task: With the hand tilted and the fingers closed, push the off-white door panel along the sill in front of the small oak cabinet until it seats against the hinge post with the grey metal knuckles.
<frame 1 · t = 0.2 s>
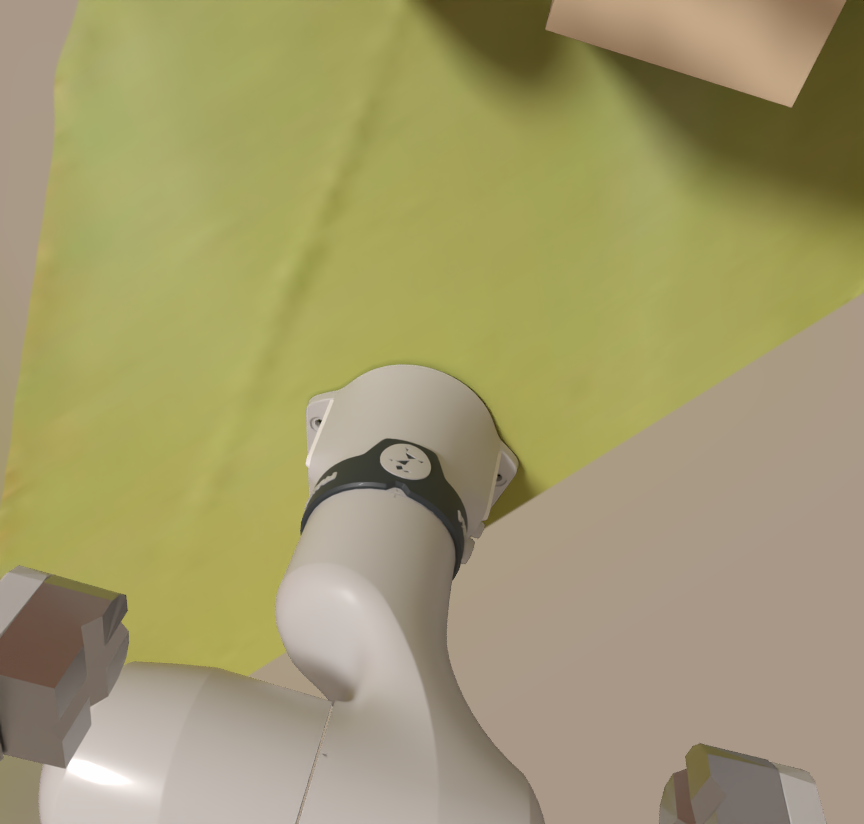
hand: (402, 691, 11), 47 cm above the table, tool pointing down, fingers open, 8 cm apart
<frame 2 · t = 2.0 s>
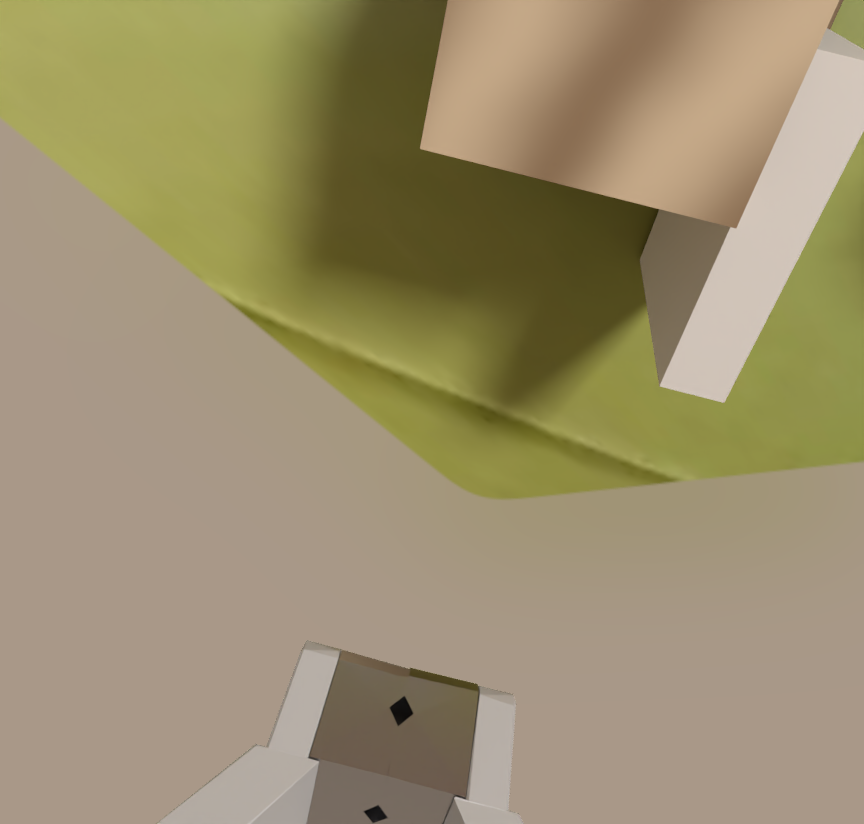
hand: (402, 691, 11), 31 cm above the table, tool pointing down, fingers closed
door: (744, 193, 31), point 6 cm above the table, slide at -7.0 cm
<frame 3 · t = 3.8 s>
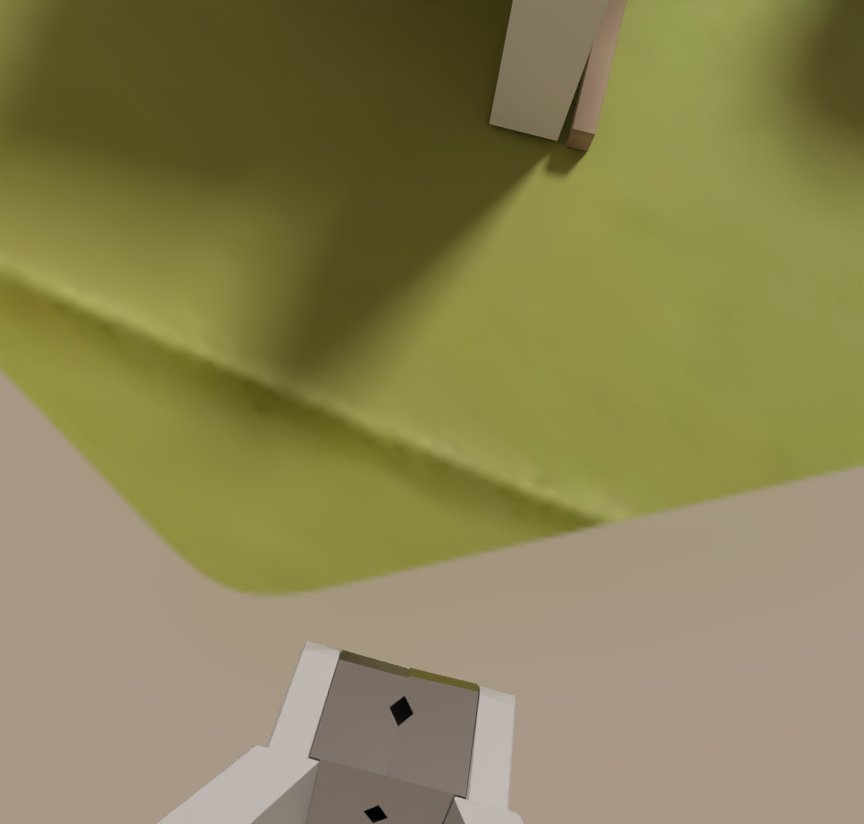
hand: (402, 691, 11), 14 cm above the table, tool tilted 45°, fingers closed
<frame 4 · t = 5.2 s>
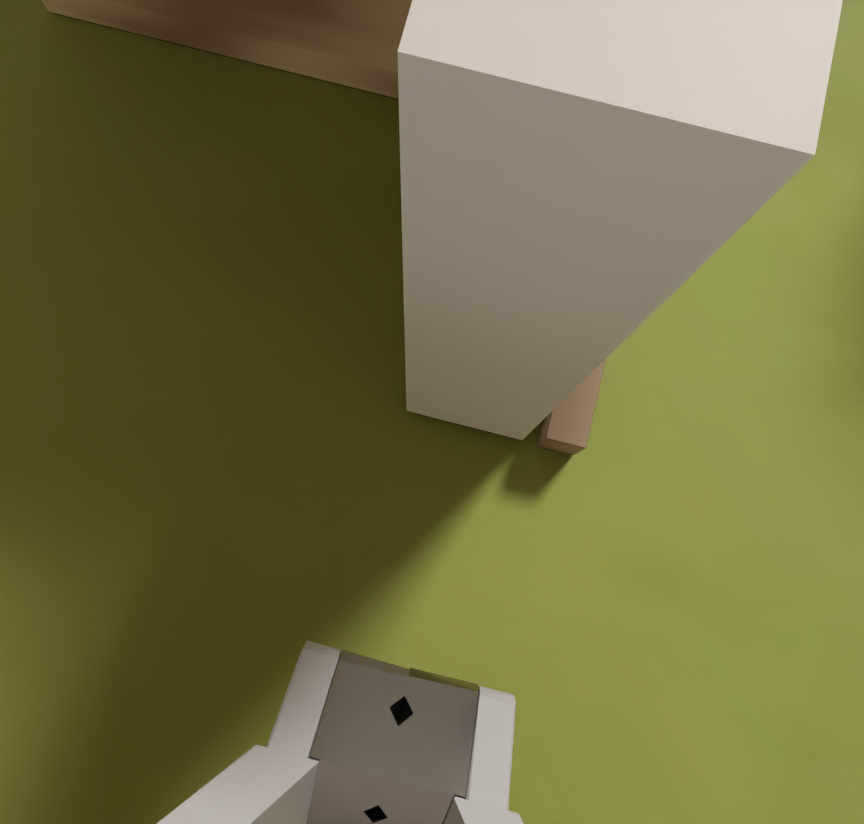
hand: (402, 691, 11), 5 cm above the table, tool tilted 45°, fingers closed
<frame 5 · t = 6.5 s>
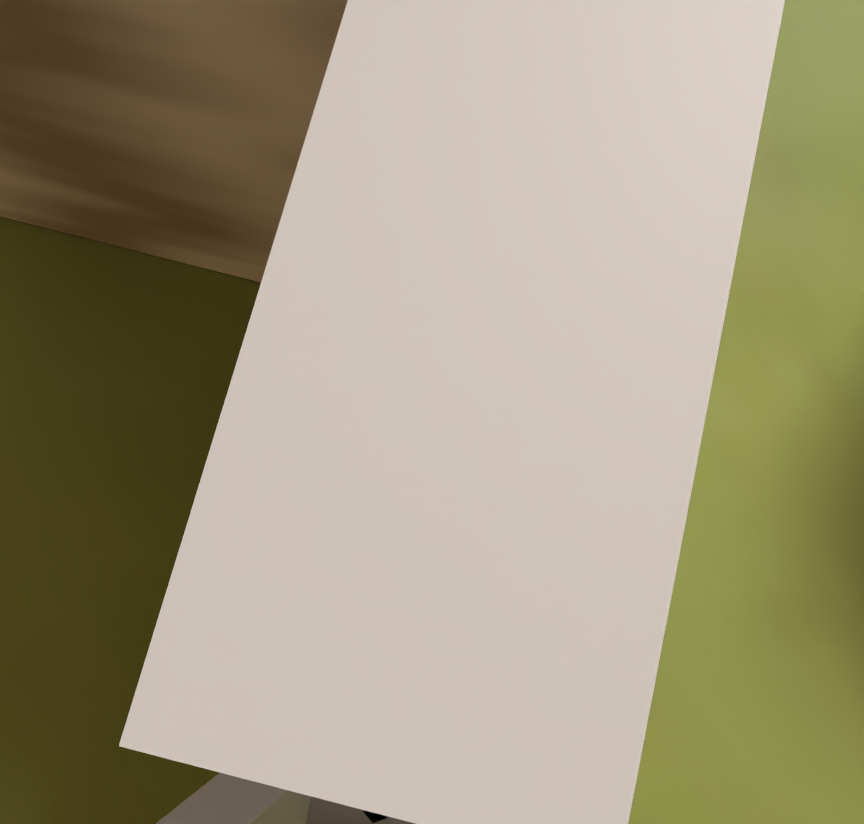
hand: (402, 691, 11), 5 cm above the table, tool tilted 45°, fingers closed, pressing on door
cabinet: (252, 21, 18), on the table
door: (535, 222, 11), point 6 cm above the table, slide at -6.0 cm, touching gripper
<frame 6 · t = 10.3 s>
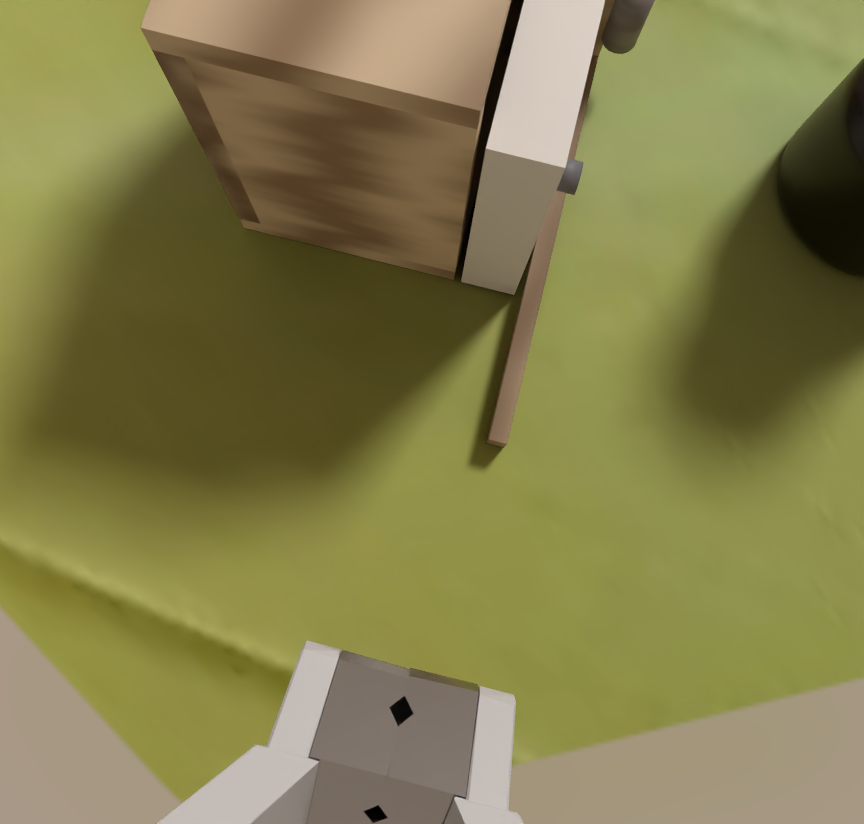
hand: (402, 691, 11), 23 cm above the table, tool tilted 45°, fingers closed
cabinet: (381, 137, 37), on the table
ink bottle: (863, 195, 37), on the table
door: (549, 100, 31), point 6 cm above the table, slide at -0.1 cm
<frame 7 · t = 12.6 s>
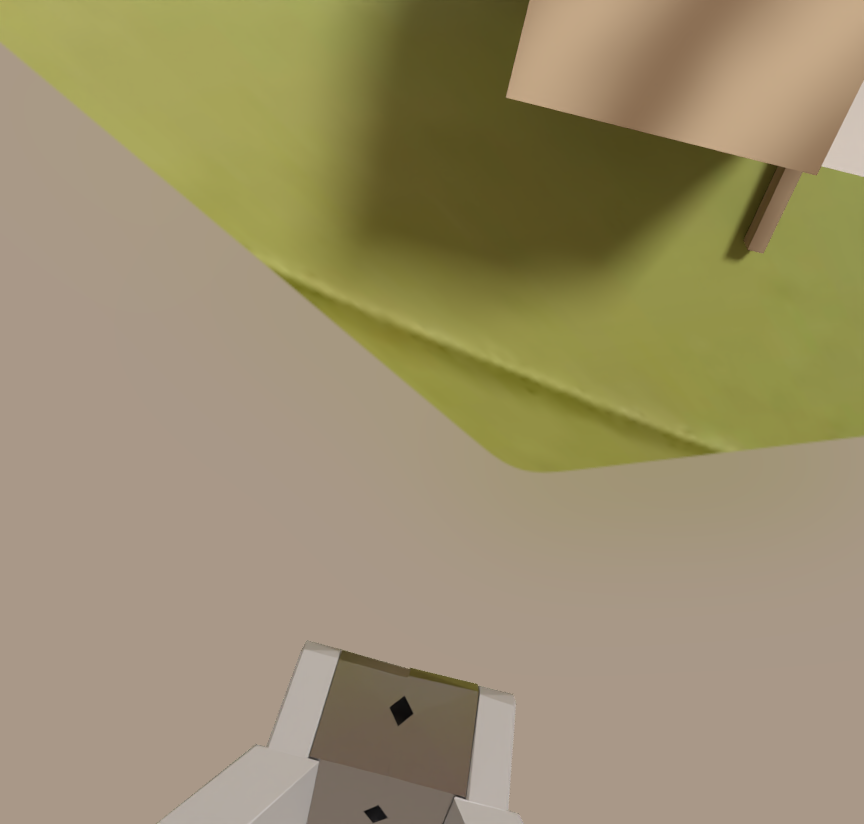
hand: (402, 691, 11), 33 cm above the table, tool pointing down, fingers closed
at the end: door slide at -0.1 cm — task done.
